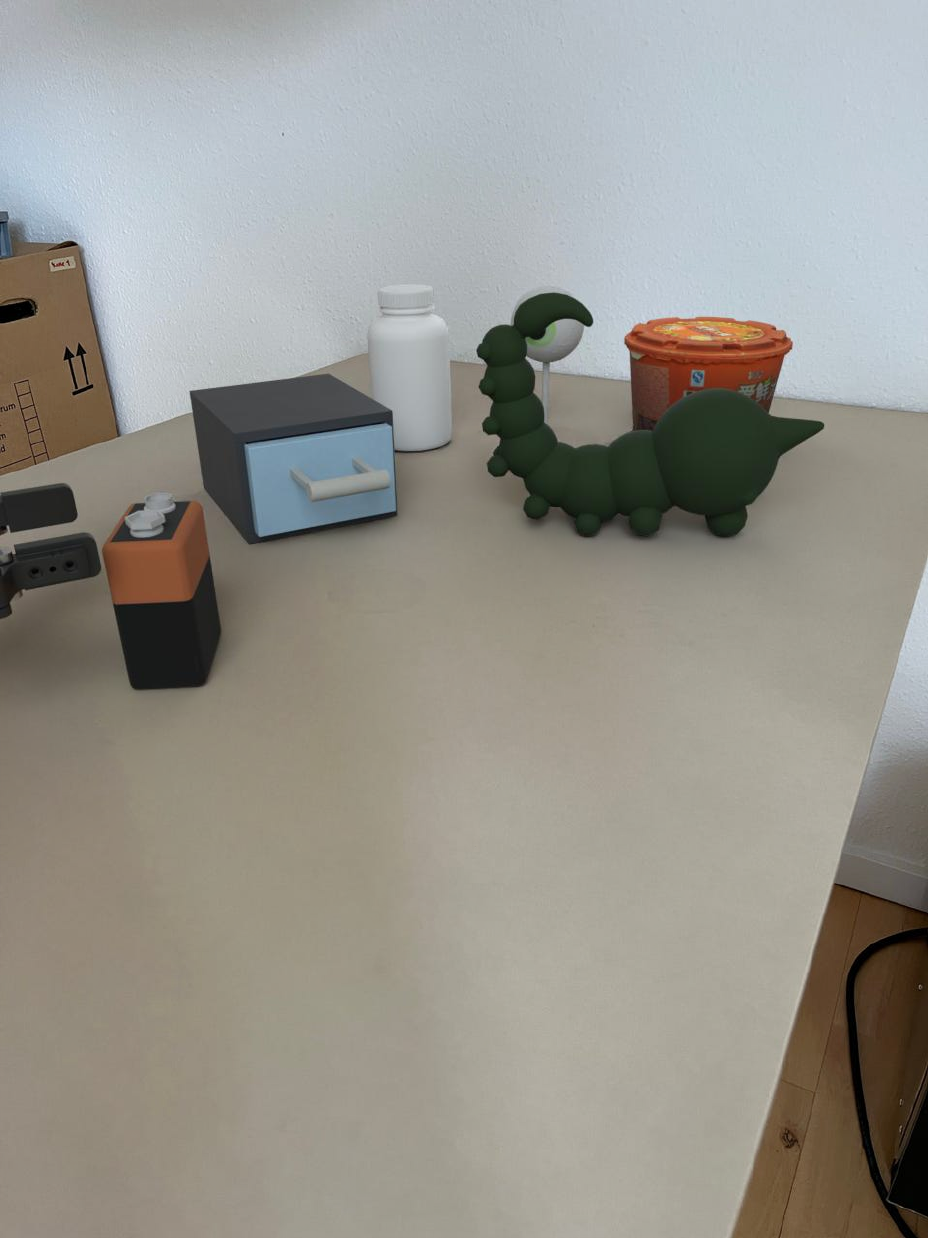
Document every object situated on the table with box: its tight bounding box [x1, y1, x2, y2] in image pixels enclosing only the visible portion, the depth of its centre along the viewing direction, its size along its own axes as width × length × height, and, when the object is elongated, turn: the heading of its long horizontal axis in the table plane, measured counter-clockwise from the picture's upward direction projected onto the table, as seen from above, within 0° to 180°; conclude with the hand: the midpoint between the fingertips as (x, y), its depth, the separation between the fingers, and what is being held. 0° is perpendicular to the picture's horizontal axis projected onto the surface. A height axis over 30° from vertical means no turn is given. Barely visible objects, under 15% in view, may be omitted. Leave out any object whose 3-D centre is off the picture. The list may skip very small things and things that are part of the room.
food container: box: [623, 316, 794, 431], centre depth 94 cm, size 16×16×11 cm
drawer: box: [244, 423, 396, 537], centre depth 75 cm, size 19×11×7 cm, turn 27°
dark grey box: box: [188, 373, 398, 545], centre depth 79 cm, size 15×13×9 cm
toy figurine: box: [475, 292, 825, 538], centre depth 71 cm, size 9×19×25 cm
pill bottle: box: [366, 283, 453, 452], centre depth 93 cm, size 8×8×15 cm
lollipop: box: [510, 284, 585, 426], centre depth 93 cm, size 7×7×15 cm
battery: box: [101, 492, 222, 690], centre depth 54 cm, size 4×7×10 cm, turn 5°
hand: (85, 525), depth 51 cm, fingers open, 8 cm apart
